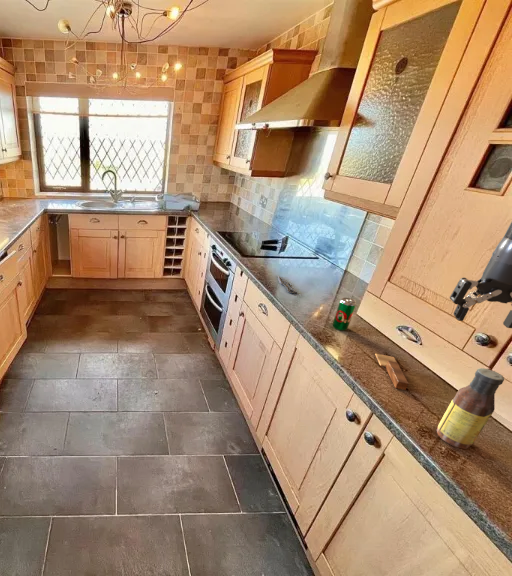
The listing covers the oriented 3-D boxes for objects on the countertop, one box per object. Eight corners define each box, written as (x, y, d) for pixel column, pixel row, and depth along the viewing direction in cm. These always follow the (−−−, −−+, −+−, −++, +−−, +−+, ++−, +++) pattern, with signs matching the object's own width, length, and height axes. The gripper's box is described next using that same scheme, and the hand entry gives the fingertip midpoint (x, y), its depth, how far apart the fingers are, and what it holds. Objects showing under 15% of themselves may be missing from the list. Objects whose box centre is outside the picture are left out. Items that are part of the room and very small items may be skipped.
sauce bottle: (476, 453, 71) (524, 389, 62) (442, 445, 73) (484, 382, 64) (459, 430, 77) (501, 368, 68) (428, 423, 78) (465, 362, 70)
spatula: (411, 391, 88) (414, 385, 87) (389, 386, 90) (392, 380, 89) (393, 358, 101) (396, 352, 100) (375, 354, 103) (377, 348, 102)
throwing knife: (288, 293, 143) (288, 292, 143) (273, 275, 161) (273, 274, 161) (297, 293, 143) (298, 292, 143) (281, 276, 161) (282, 275, 161)
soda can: (342, 324, 120) (352, 297, 114) (350, 331, 115) (360, 303, 110) (329, 323, 120) (338, 296, 115) (335, 331, 116) (345, 303, 110)
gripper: (481, 261, 66) (449, 325, 73) (580, 270, 60) (535, 337, 67) (465, 250, 72) (437, 309, 79) (554, 256, 66) (515, 320, 73)
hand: (482, 322), depth 73 cm, fingers open, 8 cm apart
